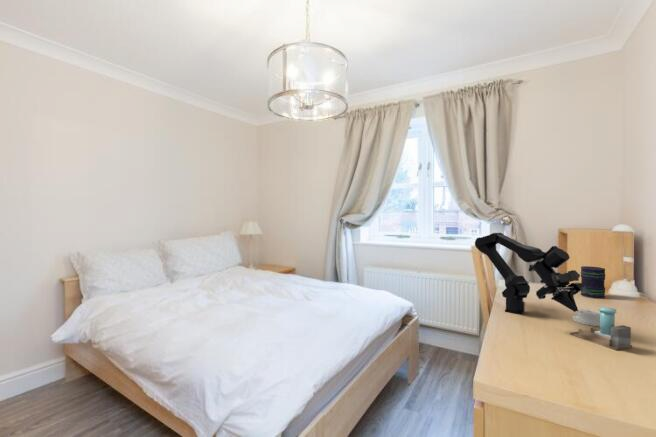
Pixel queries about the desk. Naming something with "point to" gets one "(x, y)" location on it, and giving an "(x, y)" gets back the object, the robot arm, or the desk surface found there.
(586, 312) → the mechanical component
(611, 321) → the knob
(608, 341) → the mount
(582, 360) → the desk surface
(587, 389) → the desk surface
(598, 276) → the storage jar
